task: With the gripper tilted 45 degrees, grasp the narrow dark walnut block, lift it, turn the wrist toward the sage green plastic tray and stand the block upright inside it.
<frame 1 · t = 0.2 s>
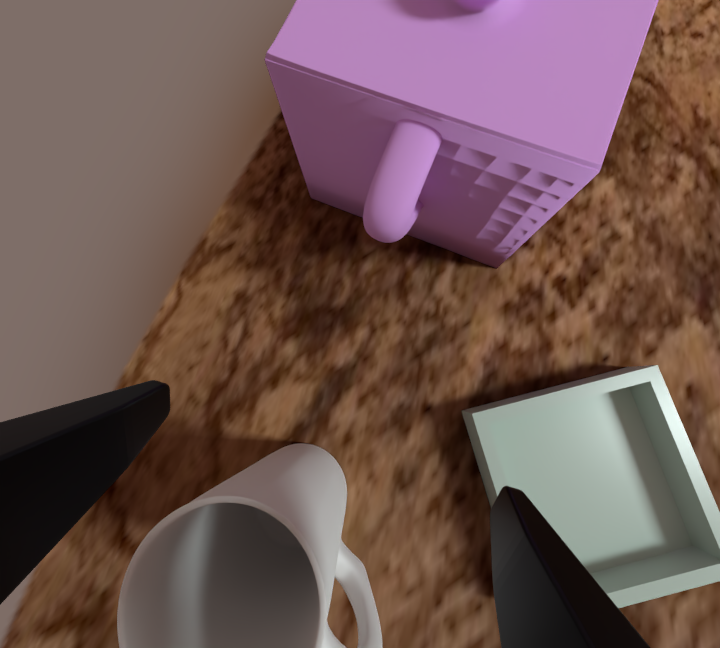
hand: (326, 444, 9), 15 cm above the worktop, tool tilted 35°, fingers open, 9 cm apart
tray: (575, 477, 22), on the worktop
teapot: (436, 152, 27), on the worktop
mug: (319, 507, 22), on the worktop
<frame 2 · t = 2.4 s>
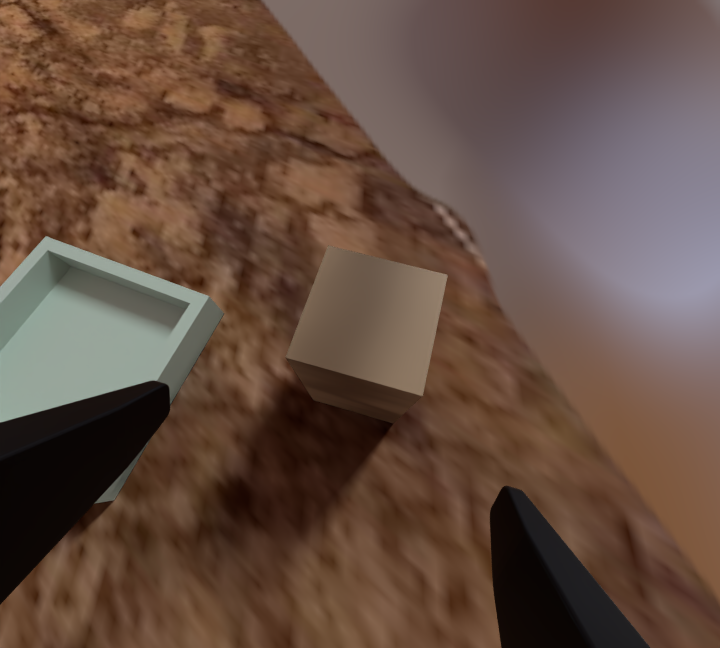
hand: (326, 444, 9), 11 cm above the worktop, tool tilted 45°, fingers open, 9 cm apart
tray: (92, 362, 21), on the worktop
walnut block: (364, 372, 21), on the worktop
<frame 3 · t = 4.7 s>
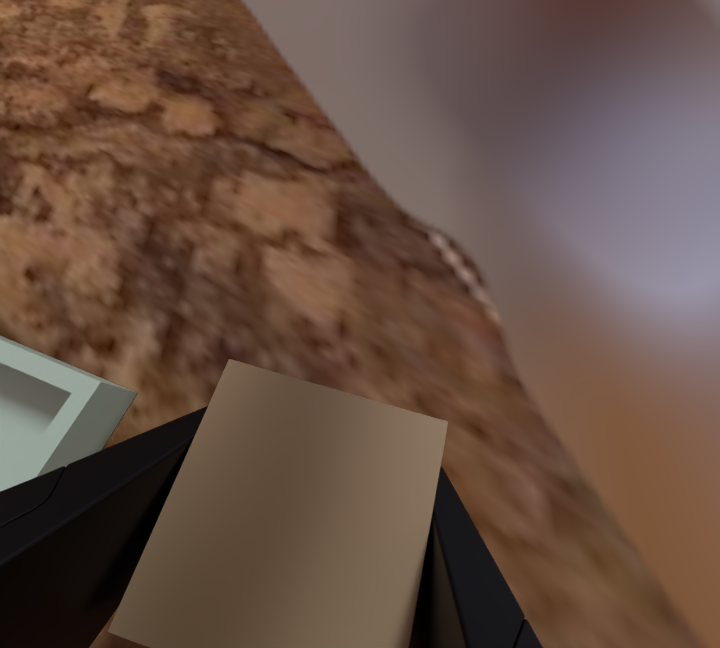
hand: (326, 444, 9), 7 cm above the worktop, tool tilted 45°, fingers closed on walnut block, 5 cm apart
walnut block: (328, 483, 15), on the worktop, touching gripper
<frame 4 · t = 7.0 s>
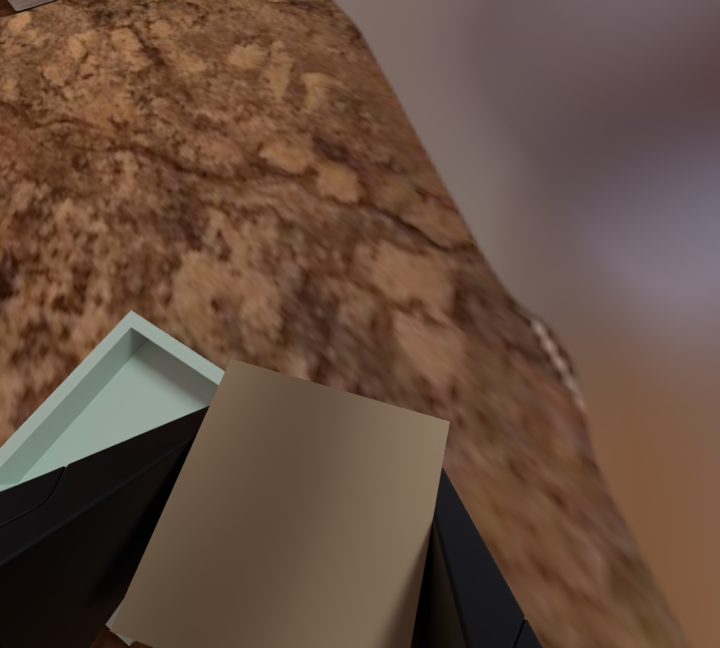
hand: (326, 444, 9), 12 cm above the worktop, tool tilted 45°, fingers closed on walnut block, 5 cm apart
tray: (156, 451, 20), on the worktop
walnut block: (329, 482, 15), point 5 cm above the worktop, touching gripper
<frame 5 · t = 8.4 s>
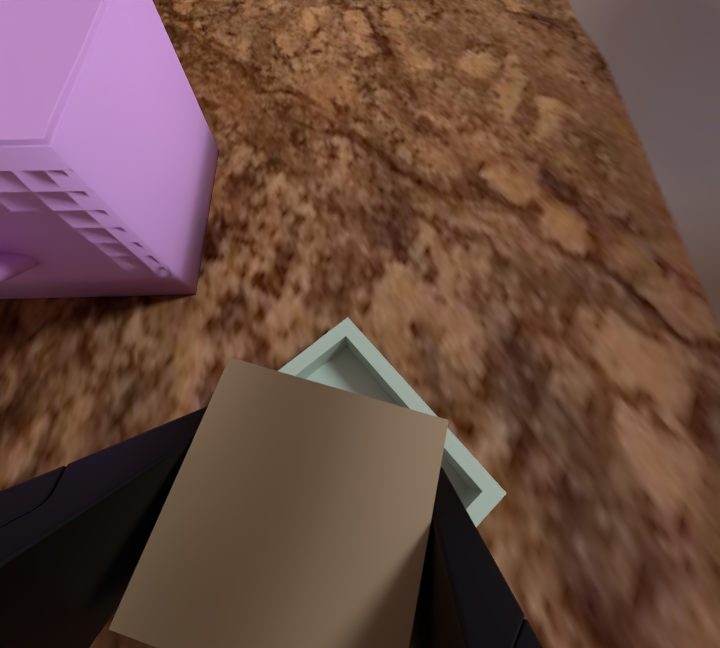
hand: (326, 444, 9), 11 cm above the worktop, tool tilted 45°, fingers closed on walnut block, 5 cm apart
tray: (334, 475, 18), on the worktop
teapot: (109, 208, 25), on the worktop
walnut block: (329, 482, 15), point 4 cm above the worktop, touching gripper
when the fingers open (9 cm above the worktop, at t = 9.6 s): walnut block drops 1 cm, resting on tray.
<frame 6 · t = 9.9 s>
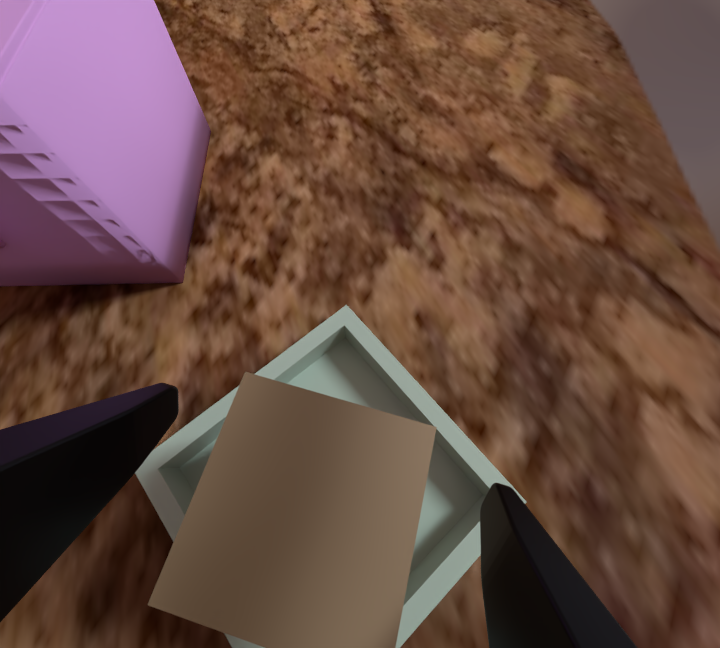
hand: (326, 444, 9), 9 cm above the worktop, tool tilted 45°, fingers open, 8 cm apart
tray: (331, 480, 16), on the worktop
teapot: (91, 190, 23), on the worktop
walnut block: (330, 481, 16), point 1 cm above the worktop, touching tray
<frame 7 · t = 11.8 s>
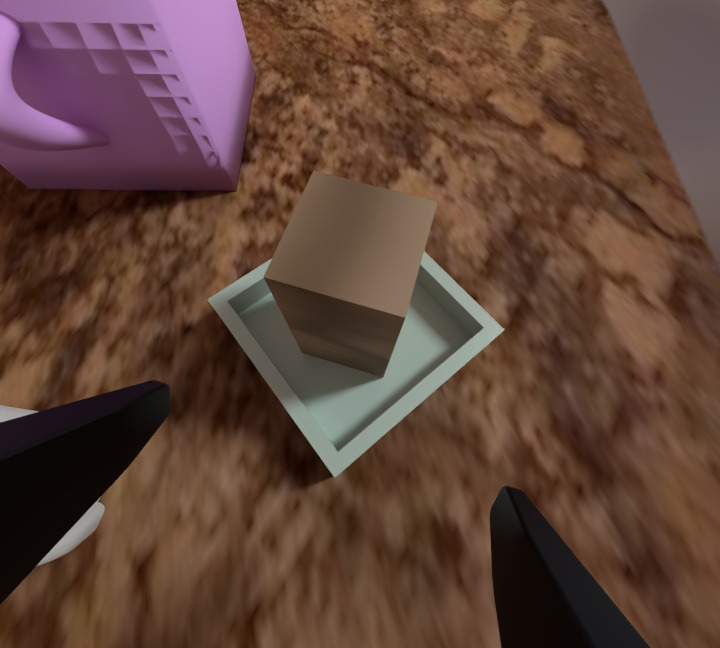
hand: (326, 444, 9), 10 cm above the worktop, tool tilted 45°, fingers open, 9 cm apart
tray: (354, 330, 21), on the worktop
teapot: (158, 121, 28), on the worktop
walnut block: (354, 326, 20), point 1 cm above the worktop, touching tray
mug: (80, 487, 18), on the worktop
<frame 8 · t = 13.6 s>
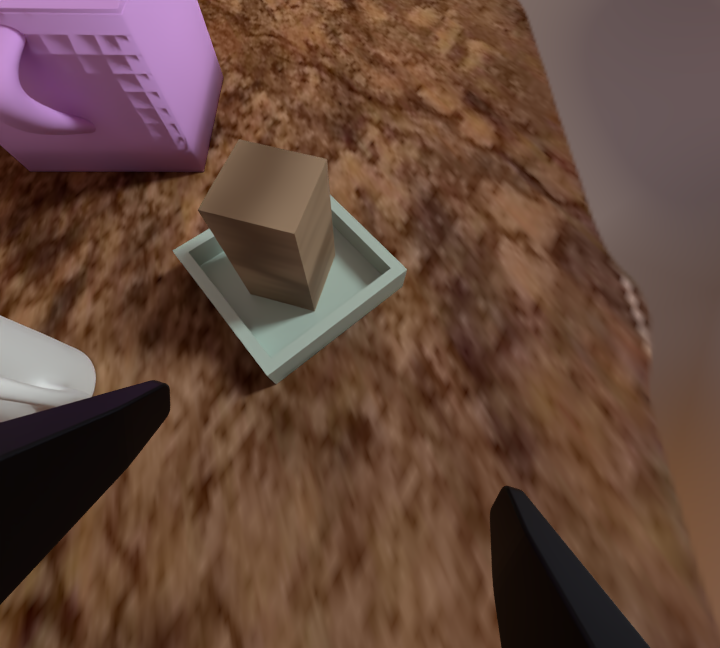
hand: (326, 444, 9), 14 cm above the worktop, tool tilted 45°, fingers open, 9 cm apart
tray: (294, 277, 26), on the worktop
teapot: (139, 115, 33), on the worktop
walnut block: (294, 274, 25), point 1 cm above the worktop, touching tray
mug: (72, 398, 22), on the worktop
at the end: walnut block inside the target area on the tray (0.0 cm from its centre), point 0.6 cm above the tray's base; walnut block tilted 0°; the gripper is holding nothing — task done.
